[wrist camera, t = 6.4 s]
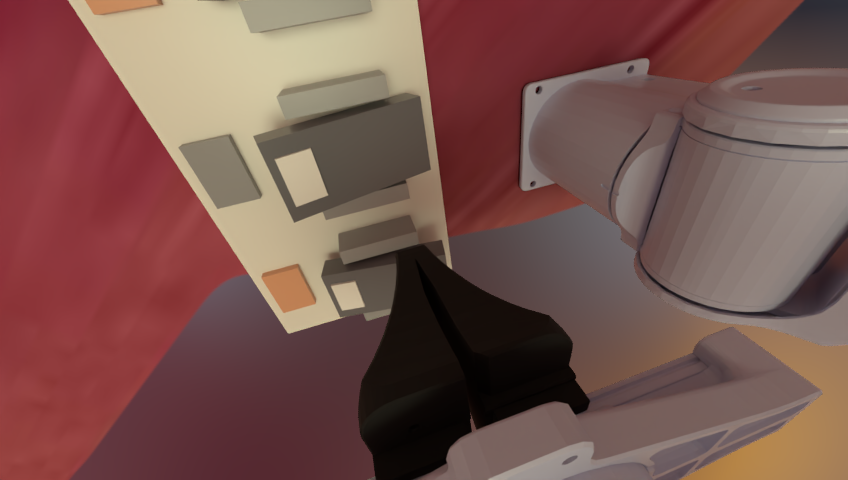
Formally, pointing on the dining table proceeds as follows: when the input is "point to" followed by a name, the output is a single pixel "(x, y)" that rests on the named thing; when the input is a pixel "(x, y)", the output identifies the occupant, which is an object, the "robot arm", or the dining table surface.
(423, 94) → the switch panel
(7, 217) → the dining table surface
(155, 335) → the dining table surface
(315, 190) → the rocker middle
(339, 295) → the block
